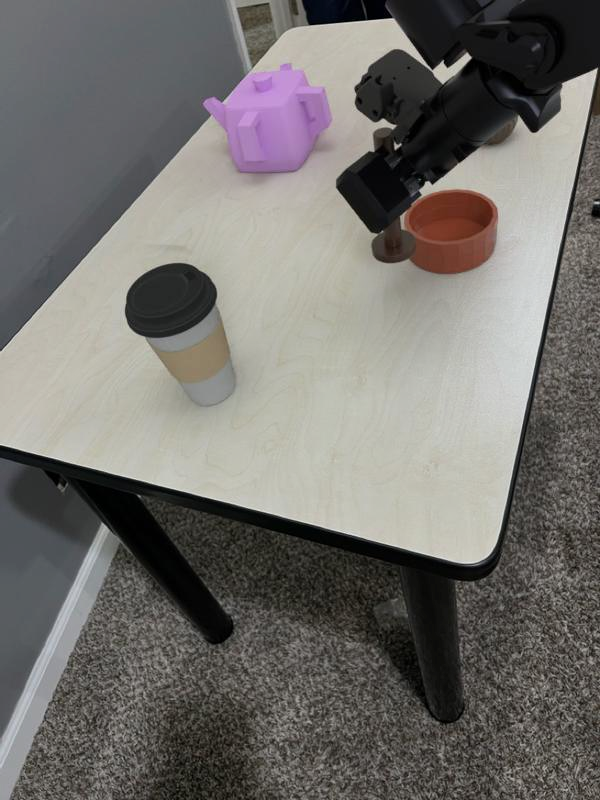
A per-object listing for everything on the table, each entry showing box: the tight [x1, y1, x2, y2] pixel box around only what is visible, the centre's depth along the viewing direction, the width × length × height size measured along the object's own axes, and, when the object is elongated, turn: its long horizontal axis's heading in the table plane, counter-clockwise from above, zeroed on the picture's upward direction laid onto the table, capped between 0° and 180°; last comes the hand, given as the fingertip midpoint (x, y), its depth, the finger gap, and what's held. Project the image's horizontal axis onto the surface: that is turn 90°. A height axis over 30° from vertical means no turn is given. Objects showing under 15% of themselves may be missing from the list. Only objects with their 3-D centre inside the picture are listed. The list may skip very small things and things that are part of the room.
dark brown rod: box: [370, 126, 416, 264], centre depth 63 cm, size 5×5×14 cm
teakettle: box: [202, 62, 334, 173], centre depth 96 cm, size 17×17×12 cm
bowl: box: [403, 188, 499, 275], centre depth 75 cm, size 11×11×4 cm
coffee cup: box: [124, 262, 237, 407], centre depth 64 cm, size 9×9×15 cm
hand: (379, 192), depth 64 cm, fingers closed on dark brown rod
